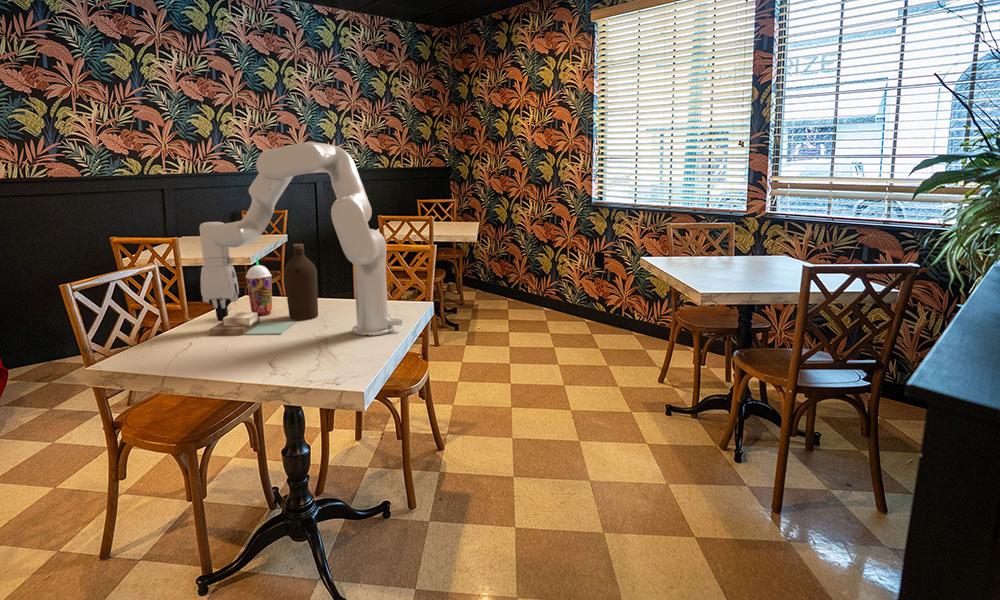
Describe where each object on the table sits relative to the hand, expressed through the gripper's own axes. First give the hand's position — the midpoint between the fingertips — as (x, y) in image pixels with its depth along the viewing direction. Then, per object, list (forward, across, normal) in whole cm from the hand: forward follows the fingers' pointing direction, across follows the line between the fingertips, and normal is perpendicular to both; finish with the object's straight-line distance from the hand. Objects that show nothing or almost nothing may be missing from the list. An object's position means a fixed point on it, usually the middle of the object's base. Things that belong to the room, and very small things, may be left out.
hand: (222, 319), depth 188 cm
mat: (+3, -15, 0) cm, 15 cm away
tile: (0, -6, 0) cm, 6 cm away
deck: (+3, -4, 0) cm, 5 cm away
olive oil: (+3, -21, -15) cm, 26 cm away
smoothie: (+3, -5, -20) cm, 21 cm away
